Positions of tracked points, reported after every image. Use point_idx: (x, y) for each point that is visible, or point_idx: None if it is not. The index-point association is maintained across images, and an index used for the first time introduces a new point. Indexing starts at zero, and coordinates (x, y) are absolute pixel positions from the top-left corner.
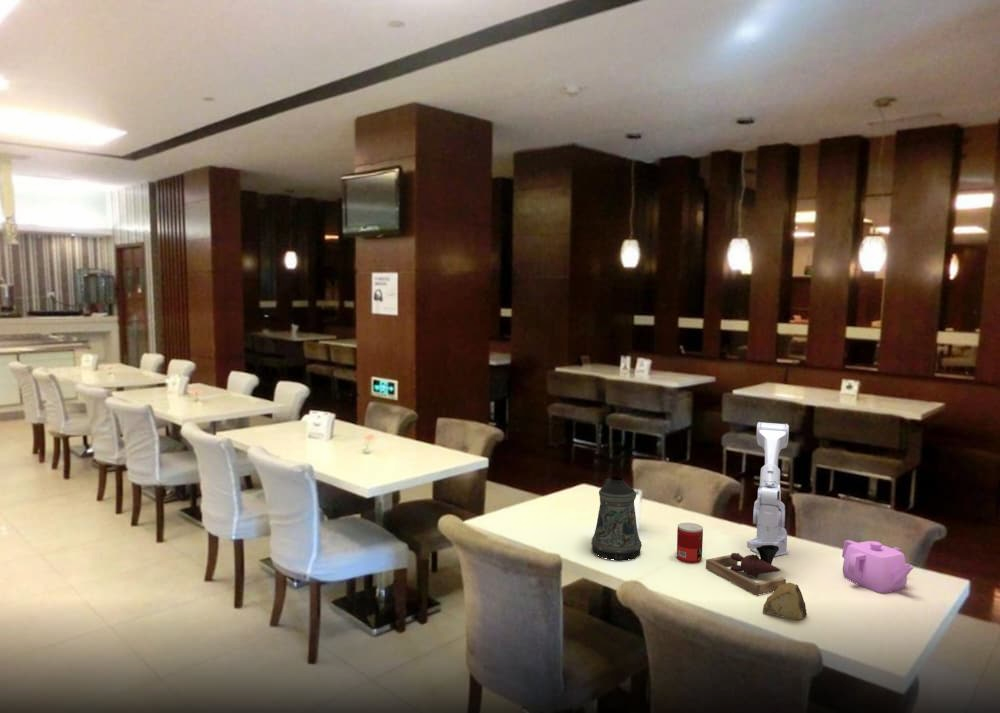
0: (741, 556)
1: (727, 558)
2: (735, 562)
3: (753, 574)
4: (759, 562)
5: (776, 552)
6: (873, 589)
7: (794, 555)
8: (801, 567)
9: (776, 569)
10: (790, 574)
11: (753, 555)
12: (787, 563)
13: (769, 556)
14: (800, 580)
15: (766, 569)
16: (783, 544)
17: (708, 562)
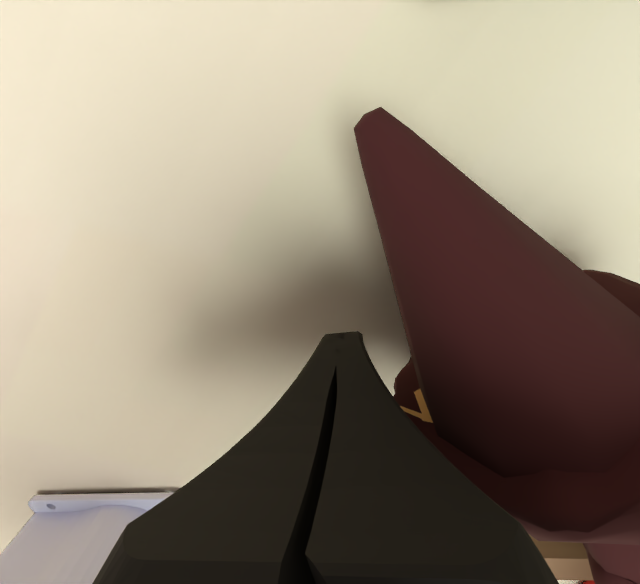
0: (620, 546)
1: (568, 550)
2: None
3: (604, 273)
4: (610, 357)
5: (200, 479)
6: None
7: (6, 473)
8: (12, 344)
9: (419, 140)
10: (147, 265)
11: (608, 522)
12: (89, 413)
13: (372, 431)
14: (111, 123)
15: (523, 229)
16: (13, 567)
17: None
